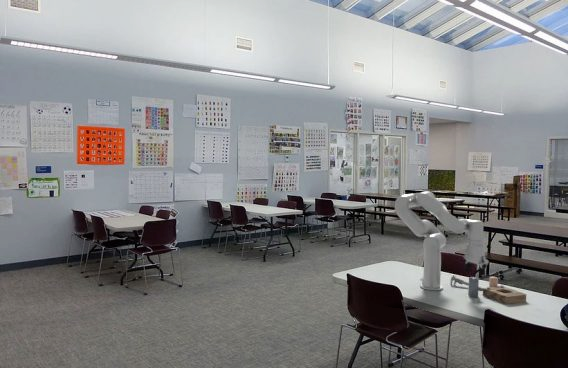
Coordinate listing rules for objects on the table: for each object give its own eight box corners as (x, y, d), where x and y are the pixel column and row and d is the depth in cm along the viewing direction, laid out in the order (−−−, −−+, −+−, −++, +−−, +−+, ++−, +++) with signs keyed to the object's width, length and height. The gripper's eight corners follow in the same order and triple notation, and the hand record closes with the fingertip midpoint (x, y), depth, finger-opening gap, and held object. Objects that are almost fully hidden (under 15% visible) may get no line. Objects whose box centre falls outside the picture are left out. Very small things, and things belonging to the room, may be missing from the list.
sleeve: (466, 294, 243) (466, 277, 243) (473, 294, 245) (473, 276, 244) (473, 297, 239) (473, 279, 238) (480, 296, 240) (480, 279, 240)
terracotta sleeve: (487, 290, 252) (487, 276, 252) (492, 289, 254) (493, 276, 253) (493, 292, 248) (493, 278, 248) (499, 291, 250) (499, 278, 249)
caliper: (450, 285, 263) (450, 274, 263) (450, 284, 264) (451, 274, 264) (486, 291, 250) (486, 281, 250) (486, 291, 251) (487, 280, 251)
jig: (482, 295, 243) (483, 286, 243) (501, 292, 248) (501, 284, 248) (506, 304, 228) (507, 295, 228) (526, 301, 233) (526, 292, 233)
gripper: (458, 240, 247) (458, 270, 247) (482, 245, 230) (482, 277, 231) (469, 239, 249) (468, 269, 250) (493, 244, 233) (493, 276, 234)
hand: (475, 273), depth 241 cm, fingers open, 9 cm apart
